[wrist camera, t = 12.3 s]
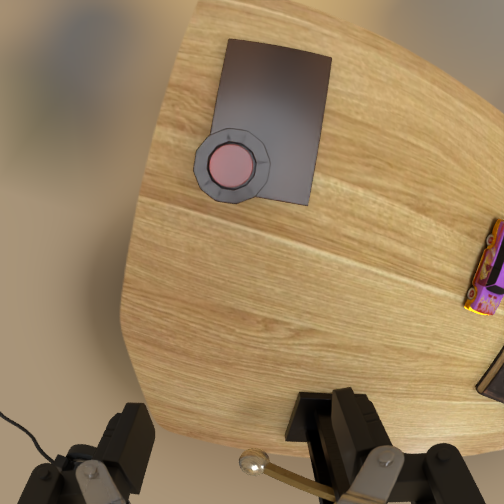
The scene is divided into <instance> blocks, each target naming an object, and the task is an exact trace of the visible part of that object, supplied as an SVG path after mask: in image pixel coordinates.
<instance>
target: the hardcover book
mask: <svg viewBox="0 0 504 504" xmlns="http://www.w3.org/2000/svg"><path fill="white" fill-rule="evenodd" d="M476 390H477V392H478V393H479V394H481V395H483V396H486V397H488V398H491V399H494V400H496V401H499V402H501V403H504V347H503V348H502V350H501V351H500V353H499V354H498V356H497V357H496V359H495V360H494V362H493V363H492V365H491V366H490V368H489V369H488V370H487V372H486V373H485V375H484V376H483V377H482V379H481V380H480V381H479V383H478V384H477V386H476Z"/></svg>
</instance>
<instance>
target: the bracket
mask: <svg viewBox="0 0 504 504" xmlns="http://www.w3.org/2000/svg"><path fill="white" fill-rule="evenodd" d="M354 395H355V397H356V398H357V397H362V396H364V397H366V398H367V396H366V394H354ZM367 399H368V398H367ZM331 413H332V394H326V393H307V392H299V394H298V397H297V401H296V404H295V407H294V410H293V413H292V416H291V419H290V422H289V424H288V427H287V430H286V433H285V441H291V442H307V444H308V449H309V454H310V458H311V462H312V468H313V473H314V478H315V482H317V483H320V484H323V485H325V486H328V487H331V488H333V491H334V495H335V499H336V503H337V502H338V500H339V499H340V497H341V496H342V495H343V494H344V493H346V492H347V491H348V490H349V488H350V486H351V485H350V484H349V480H348V477H347V474H346V470H345V467H344V463H343V460H342V457H341V453H340V450H339V447H338V443H337V440H336V437H335V433H334V430H333V426H332V419H331ZM319 502H320V504H333V502H332V501H329V500H326V499H324V498H321V497H319Z"/></svg>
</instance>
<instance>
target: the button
mask: <svg viewBox="0 0 504 504" xmlns="http://www.w3.org/2000/svg"><path fill="white" fill-rule="evenodd" d="M209 170H210V173H211V176H212V177H213V179H214V180H215V181H216V182H217V183H218V184H220V185H222V186H225V187H237V186H240V185H242V184H244V183H245V182H246V181H247V180H248V179H249V178H250V176H251V174H252V171H253V160H252V157H251V155H250V154H249V152H248V151H247V150H246V149H245V148H243V147H241V146H239V145H236V144H227V145H223V146H221V147H219V148H218V149H217V150H216V151H215V152H214V153H213V154H212V156H211V158H210V162H209Z"/></svg>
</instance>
